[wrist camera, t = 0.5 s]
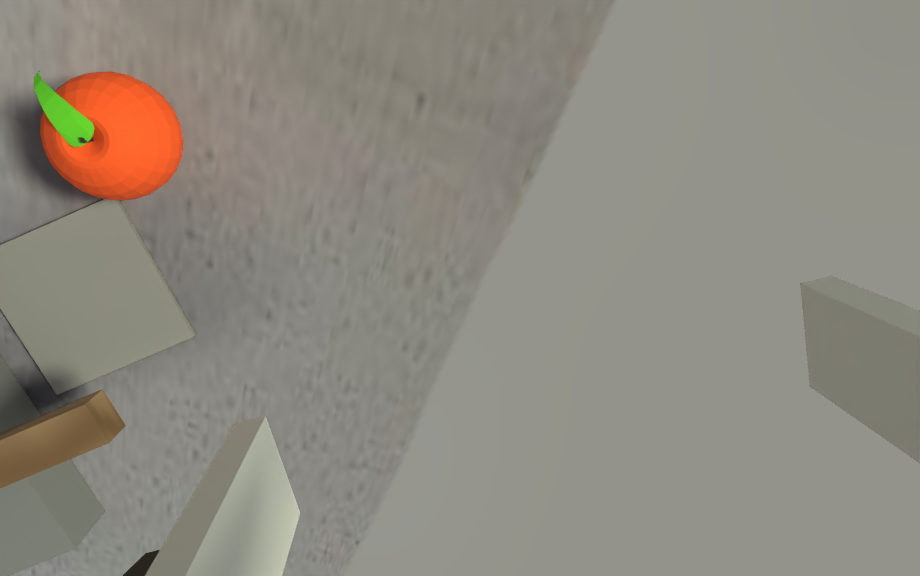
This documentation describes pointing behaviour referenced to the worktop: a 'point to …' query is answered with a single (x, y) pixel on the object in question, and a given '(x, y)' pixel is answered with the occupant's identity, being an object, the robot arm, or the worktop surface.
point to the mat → (87, 296)
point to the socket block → (39, 497)
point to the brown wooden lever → (57, 437)
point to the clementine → (109, 134)
